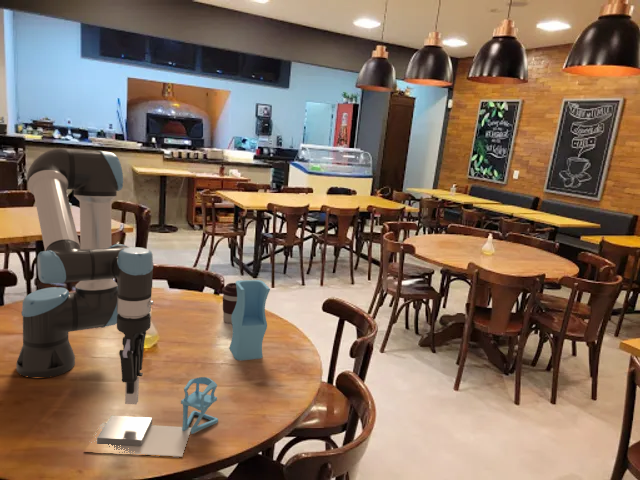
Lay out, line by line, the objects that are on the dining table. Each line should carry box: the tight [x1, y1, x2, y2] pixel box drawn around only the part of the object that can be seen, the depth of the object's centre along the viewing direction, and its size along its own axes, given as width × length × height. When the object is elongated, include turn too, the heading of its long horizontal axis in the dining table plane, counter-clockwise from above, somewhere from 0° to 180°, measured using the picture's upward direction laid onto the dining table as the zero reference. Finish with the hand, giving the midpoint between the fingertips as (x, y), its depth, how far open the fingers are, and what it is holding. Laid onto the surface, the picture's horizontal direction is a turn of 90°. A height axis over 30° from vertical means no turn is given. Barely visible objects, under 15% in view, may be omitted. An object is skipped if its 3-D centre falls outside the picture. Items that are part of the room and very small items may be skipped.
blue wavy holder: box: [228, 279, 271, 361], centre depth 161 cm, size 10×10×25 cm
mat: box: [91, 422, 193, 458], centre depth 113 cm, size 22×11×1 cm, turn 94°
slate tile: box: [97, 414, 153, 446], centre depth 114 cm, size 10×2×9 cm
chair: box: [180, 376, 219, 435], centre depth 120 cm, size 8×8×12 cm
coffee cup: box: [221, 282, 237, 325], centre depth 189 cm, size 10×10×15 cm
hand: (131, 402), depth 117 cm, fingers closed
